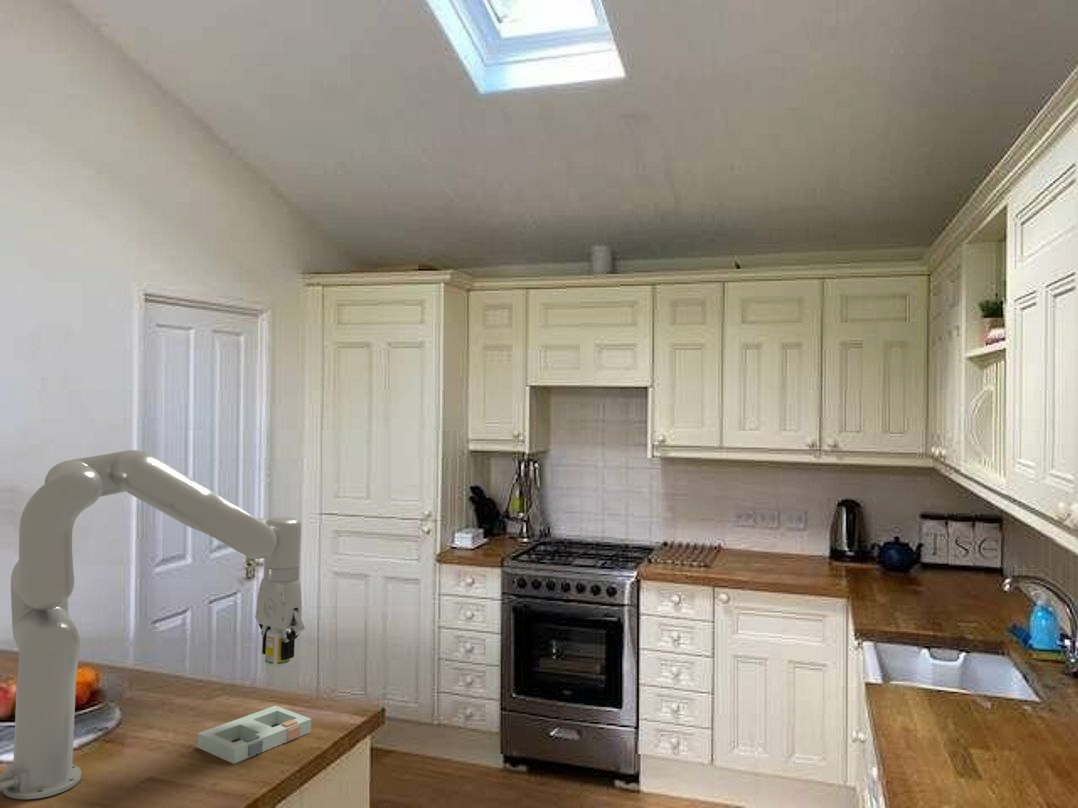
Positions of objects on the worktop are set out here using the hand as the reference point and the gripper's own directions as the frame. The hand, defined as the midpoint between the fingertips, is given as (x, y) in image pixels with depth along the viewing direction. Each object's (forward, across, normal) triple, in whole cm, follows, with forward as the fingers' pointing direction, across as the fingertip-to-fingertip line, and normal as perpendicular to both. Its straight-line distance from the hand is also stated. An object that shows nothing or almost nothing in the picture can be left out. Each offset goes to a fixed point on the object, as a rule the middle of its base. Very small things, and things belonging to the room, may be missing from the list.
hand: (278, 654), depth 180 cm
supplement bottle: (+2, 0, 0) cm, 2 cm away
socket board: (+17, 0, -5) cm, 18 cm away
